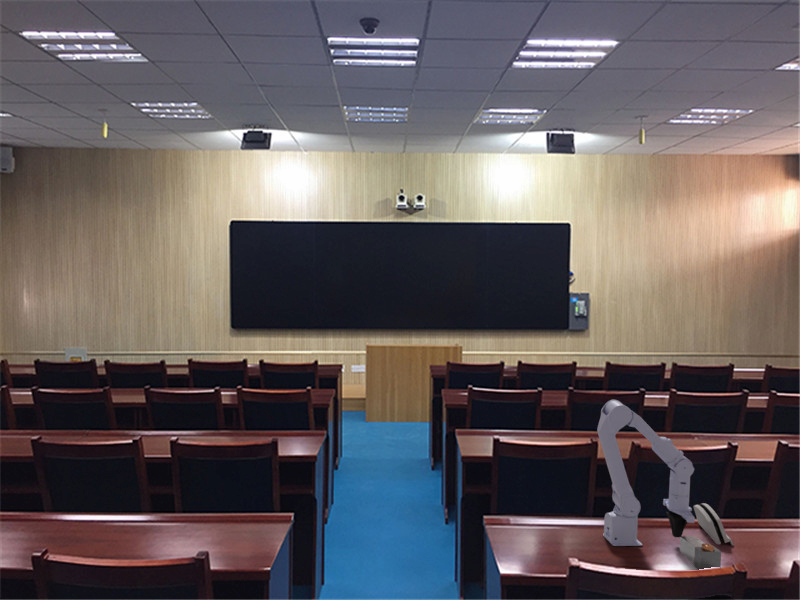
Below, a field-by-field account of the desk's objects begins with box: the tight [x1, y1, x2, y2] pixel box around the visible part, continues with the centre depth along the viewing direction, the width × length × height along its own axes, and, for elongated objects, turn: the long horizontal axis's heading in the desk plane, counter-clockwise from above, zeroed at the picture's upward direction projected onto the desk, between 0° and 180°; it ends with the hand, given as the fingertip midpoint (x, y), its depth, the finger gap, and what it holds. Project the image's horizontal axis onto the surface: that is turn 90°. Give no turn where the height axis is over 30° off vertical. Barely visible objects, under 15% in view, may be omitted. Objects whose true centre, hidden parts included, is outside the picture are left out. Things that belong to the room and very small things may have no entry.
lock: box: [679, 535, 705, 565], centre depth 173 cm, size 8×5×5 cm, turn 5°
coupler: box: [693, 542, 722, 570], centre depth 170 cm, size 6×11×6 cm, turn 4°
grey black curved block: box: [692, 502, 734, 546], centre depth 191 cm, size 17×5×10 cm, turn 171°
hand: (676, 536), depth 182 cm, fingers closed
